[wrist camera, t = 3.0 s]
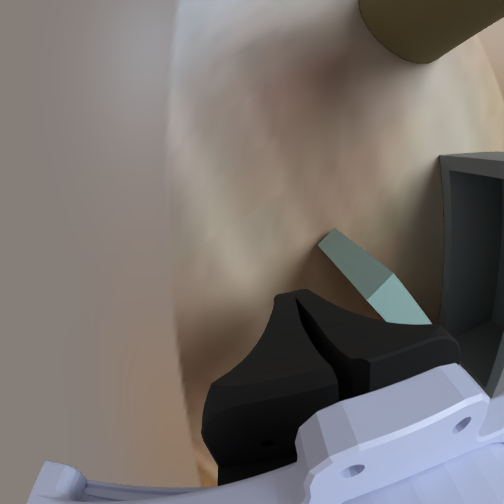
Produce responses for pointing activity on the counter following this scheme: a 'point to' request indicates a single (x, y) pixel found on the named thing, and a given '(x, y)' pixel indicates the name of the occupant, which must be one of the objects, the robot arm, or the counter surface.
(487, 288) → the cupboard
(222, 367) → the counter surface
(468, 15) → the cork
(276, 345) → the robot arm
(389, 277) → the sage green bent plank
